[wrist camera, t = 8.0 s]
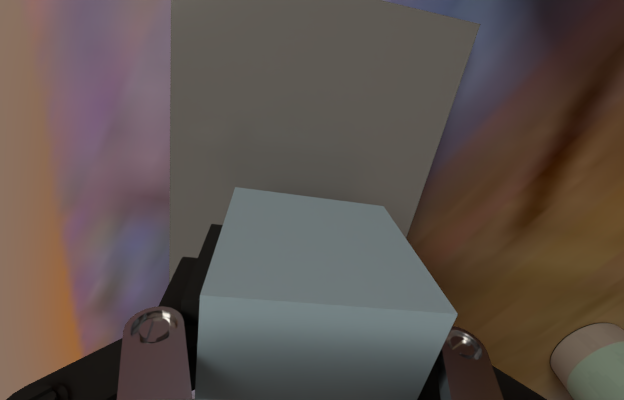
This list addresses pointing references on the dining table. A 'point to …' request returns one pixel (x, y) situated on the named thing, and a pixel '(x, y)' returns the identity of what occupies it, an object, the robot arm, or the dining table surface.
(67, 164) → the dining table surface
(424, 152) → the board
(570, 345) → the coffee cup
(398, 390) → the cube
